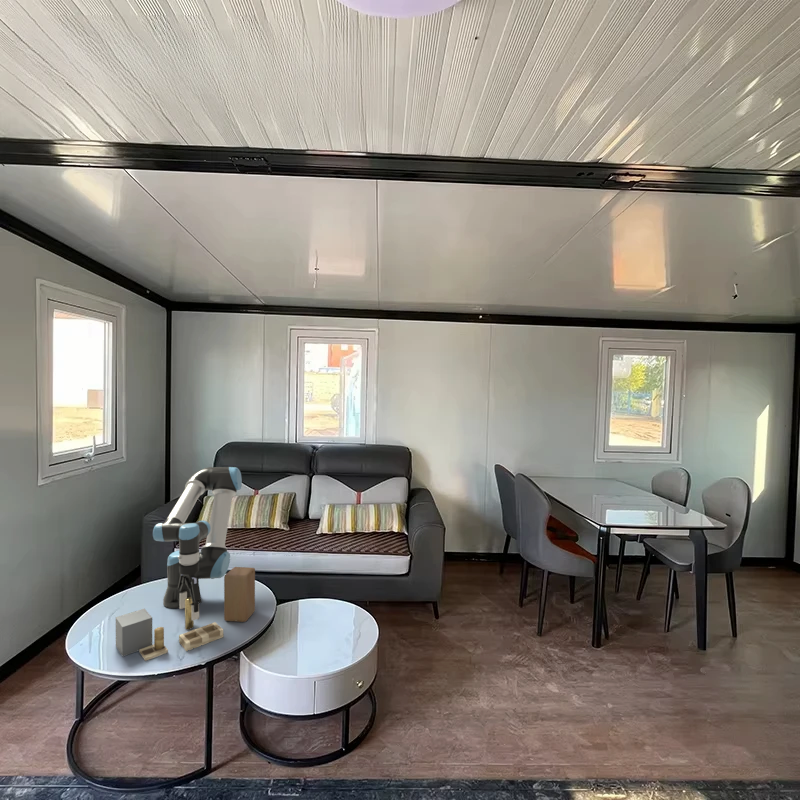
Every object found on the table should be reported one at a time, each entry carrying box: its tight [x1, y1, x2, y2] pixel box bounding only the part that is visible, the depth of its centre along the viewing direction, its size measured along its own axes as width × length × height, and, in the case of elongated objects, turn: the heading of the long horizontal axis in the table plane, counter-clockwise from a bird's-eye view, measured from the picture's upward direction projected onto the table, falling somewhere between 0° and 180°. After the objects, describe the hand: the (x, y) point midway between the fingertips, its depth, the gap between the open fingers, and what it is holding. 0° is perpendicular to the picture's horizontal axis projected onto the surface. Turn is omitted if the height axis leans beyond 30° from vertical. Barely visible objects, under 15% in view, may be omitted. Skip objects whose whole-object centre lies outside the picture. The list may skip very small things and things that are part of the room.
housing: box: [115, 608, 153, 657], centre depth 170 cm, size 10×10×11 cm
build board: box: [178, 621, 224, 652], centre depth 174 cm, size 8×14×3 cm, turn 135°
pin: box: [184, 597, 195, 630], centre depth 183 cm, size 3×3×12 cm
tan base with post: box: [138, 626, 169, 662], centre depth 166 cm, size 8×8×8 cm
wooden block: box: [223, 566, 256, 623], centre depth 192 cm, size 10×10×20 cm
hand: (189, 613), depth 183 cm, fingers open, 13 cm apart
